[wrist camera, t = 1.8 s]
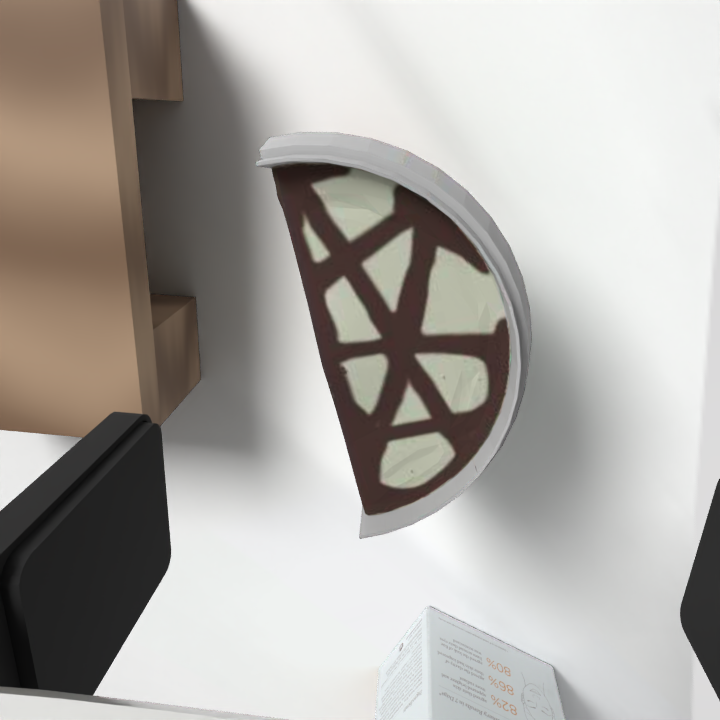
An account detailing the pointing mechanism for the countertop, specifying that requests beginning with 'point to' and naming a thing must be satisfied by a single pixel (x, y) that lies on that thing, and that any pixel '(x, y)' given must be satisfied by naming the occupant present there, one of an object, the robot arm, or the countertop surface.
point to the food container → (404, 317)
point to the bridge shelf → (83, 218)
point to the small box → (463, 677)
